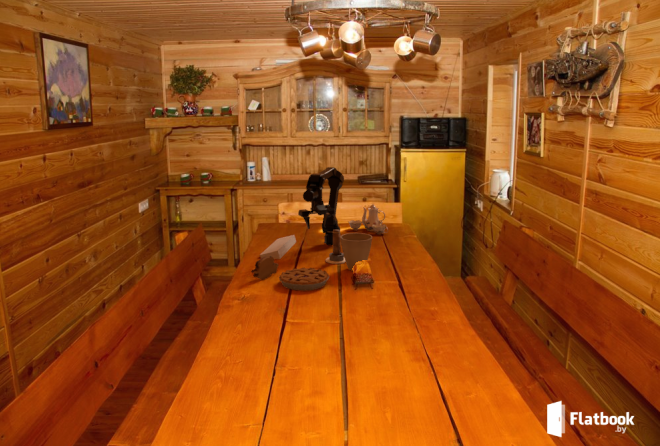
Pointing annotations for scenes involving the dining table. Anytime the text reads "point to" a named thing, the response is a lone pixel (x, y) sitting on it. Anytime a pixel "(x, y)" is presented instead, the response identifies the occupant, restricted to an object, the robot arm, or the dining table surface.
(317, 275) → the pie
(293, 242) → the decorative molding
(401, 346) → the dining table surface
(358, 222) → the chinaware
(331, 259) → the cup bracket
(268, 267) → the wooden carving
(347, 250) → the plant pot
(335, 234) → the brown tapered rod
